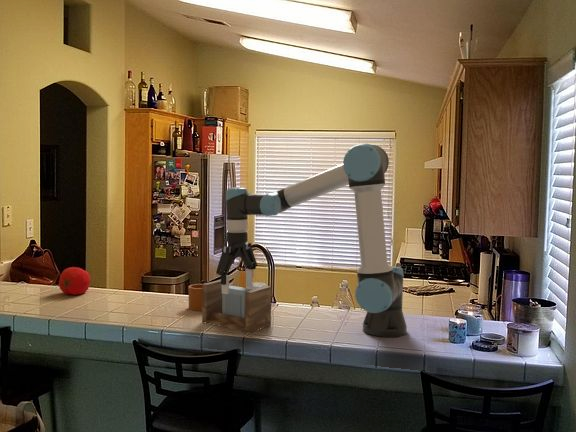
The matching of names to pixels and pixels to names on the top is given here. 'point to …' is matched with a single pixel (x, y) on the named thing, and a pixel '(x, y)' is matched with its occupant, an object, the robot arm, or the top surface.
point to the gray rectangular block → (235, 302)
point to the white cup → (257, 285)
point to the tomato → (74, 281)
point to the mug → (195, 297)
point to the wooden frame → (255, 316)
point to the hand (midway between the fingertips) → (237, 290)
